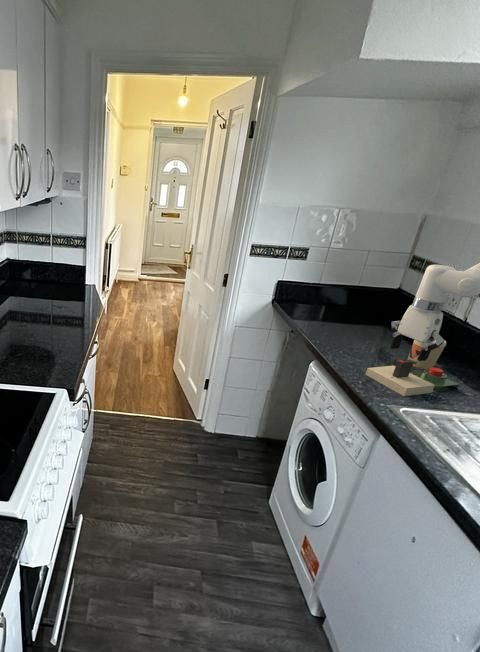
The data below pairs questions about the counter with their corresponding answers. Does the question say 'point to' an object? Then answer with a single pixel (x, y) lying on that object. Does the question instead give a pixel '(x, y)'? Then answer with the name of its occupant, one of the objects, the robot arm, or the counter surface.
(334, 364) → the counter surface
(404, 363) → the dark brown upright block
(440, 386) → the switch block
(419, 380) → the tan rectangular slab
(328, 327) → the counter surface
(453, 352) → the counter surface
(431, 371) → the stop button
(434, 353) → the coffee cup
